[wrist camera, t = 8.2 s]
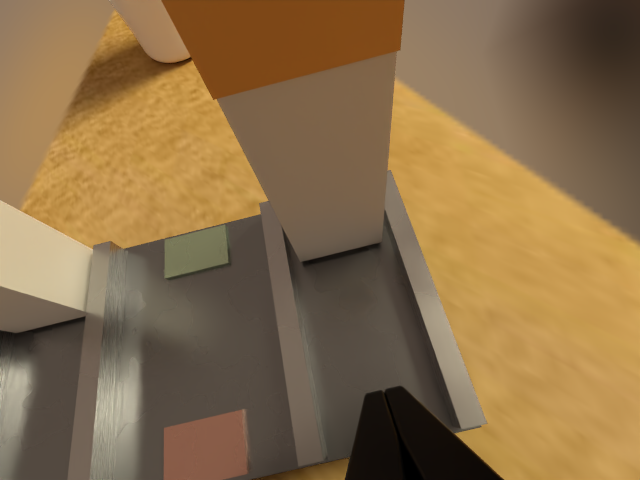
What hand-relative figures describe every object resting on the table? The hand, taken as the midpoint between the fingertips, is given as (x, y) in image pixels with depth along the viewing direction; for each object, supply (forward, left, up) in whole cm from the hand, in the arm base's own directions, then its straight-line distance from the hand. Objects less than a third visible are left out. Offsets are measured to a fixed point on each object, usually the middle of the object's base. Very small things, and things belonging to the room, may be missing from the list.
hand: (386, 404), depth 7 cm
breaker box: (0, +7, -7) cm, 10 cm away
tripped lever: (+6, +4, -5) cm, 9 cm away
